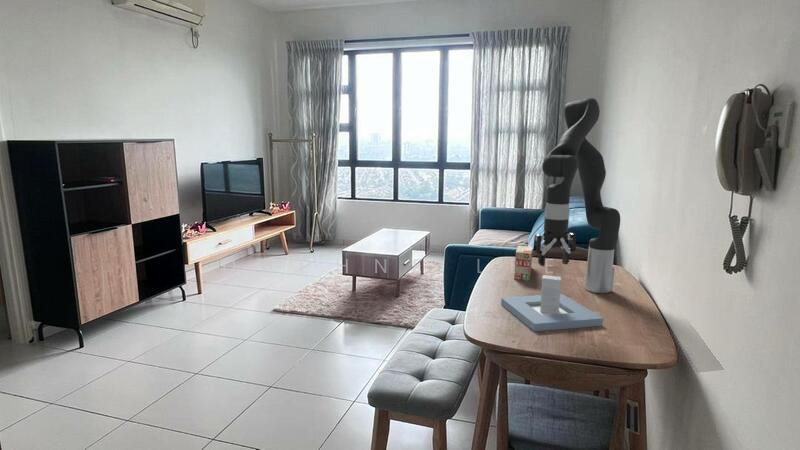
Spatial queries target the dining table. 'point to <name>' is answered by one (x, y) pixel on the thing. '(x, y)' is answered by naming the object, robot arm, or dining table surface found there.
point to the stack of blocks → (523, 263)
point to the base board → (540, 321)
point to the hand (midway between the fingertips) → (553, 264)
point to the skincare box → (550, 294)
